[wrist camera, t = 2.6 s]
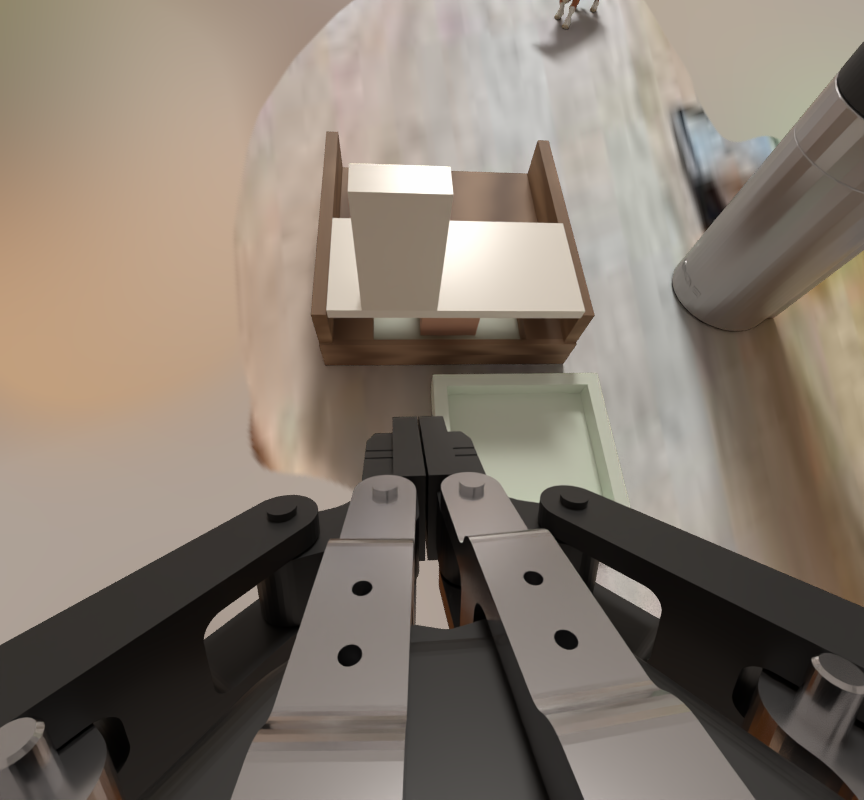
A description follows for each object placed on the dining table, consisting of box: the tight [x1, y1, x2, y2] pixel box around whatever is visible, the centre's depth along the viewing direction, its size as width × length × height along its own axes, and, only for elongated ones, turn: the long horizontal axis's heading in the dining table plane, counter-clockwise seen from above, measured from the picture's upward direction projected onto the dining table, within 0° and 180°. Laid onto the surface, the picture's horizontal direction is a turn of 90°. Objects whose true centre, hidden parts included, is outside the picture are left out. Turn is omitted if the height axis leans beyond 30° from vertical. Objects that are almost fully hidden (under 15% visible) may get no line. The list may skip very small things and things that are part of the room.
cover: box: [326, 163, 585, 318], centre depth 27 cm, size 18×8×10 cm, turn 93°
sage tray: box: [431, 373, 631, 508], centre depth 32 cm, size 13×11×2 cm
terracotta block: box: [420, 318, 480, 335], centre depth 34 cm, size 4×4×4 cm
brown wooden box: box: [311, 132, 595, 365], centre depth 37 cm, size 20×20×6 cm
